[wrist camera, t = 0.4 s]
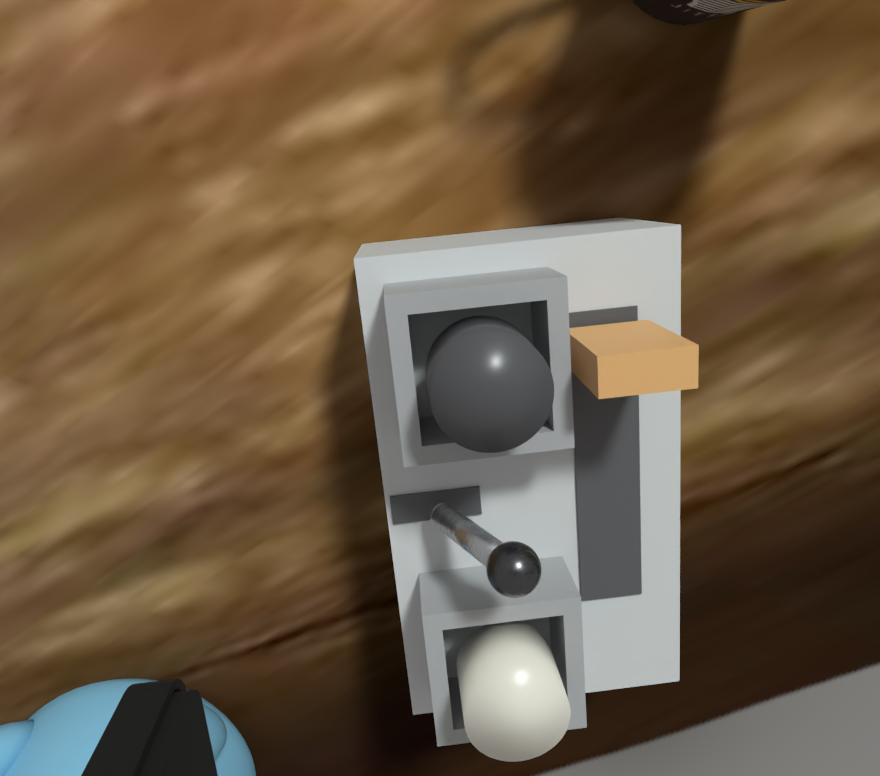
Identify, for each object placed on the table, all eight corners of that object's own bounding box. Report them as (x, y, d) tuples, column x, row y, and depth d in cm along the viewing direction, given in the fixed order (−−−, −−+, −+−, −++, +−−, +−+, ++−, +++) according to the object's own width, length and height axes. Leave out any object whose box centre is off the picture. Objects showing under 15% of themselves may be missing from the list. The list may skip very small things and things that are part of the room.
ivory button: (549, 614, 27) (568, 665, 24) (554, 695, 28) (572, 754, 25) (452, 626, 26) (459, 679, 24) (461, 707, 28) (468, 767, 25)
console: (620, 217, 32) (718, 229, 22) (628, 592, 37) (708, 731, 28) (362, 244, 31) (348, 267, 22) (409, 619, 37) (415, 769, 27)
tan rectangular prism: (648, 319, 26) (698, 345, 21) (648, 355, 26) (697, 388, 22) (563, 328, 25) (597, 356, 21) (565, 365, 26) (598, 399, 22)
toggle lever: (454, 483, 27) (551, 547, 22) (458, 524, 28) (553, 596, 22) (414, 496, 26) (504, 565, 21) (419, 538, 27) (508, 616, 22)
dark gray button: (531, 309, 23) (551, 326, 20) (537, 415, 24) (557, 445, 21) (420, 321, 23) (423, 340, 20) (431, 427, 24) (436, 459, 21)
